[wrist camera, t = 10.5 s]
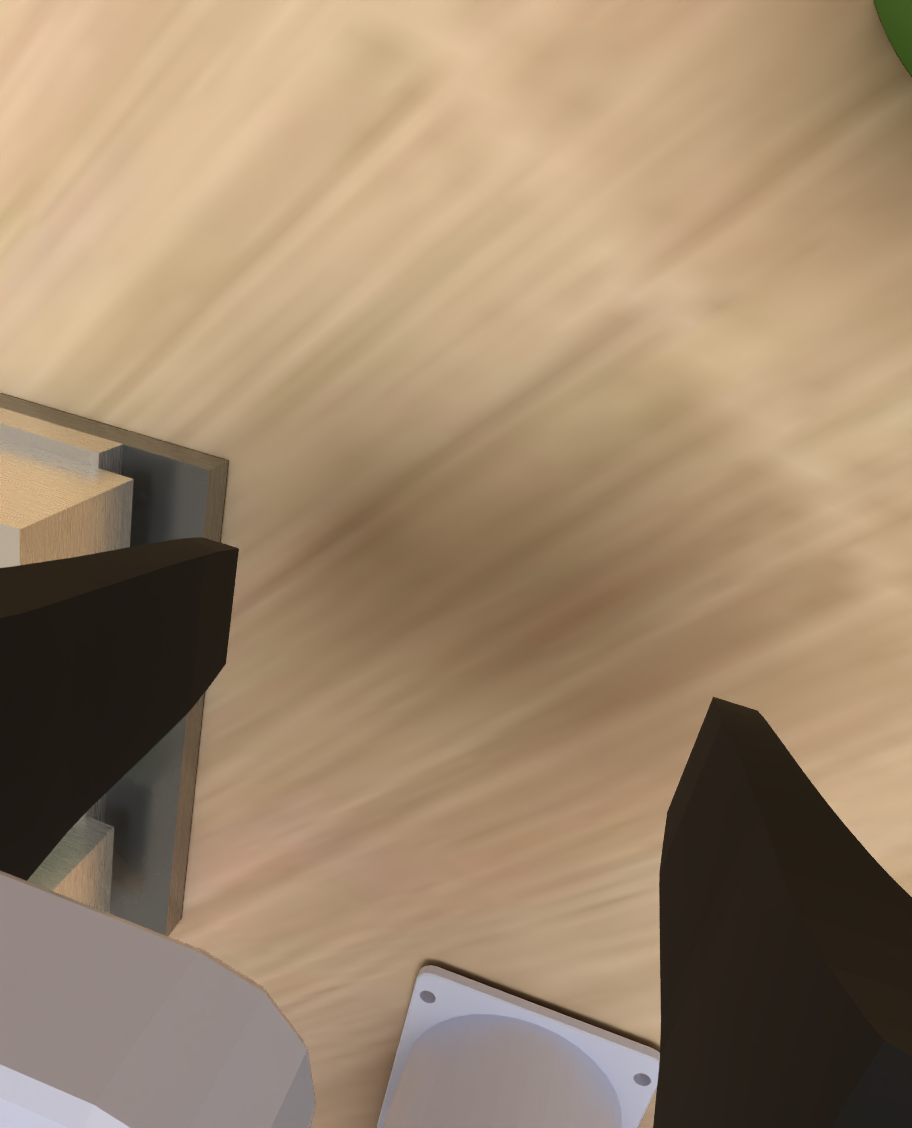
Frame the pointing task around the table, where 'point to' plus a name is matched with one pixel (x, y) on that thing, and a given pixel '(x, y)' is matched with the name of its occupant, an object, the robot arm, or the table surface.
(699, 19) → the table surface
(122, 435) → the rail board
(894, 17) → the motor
